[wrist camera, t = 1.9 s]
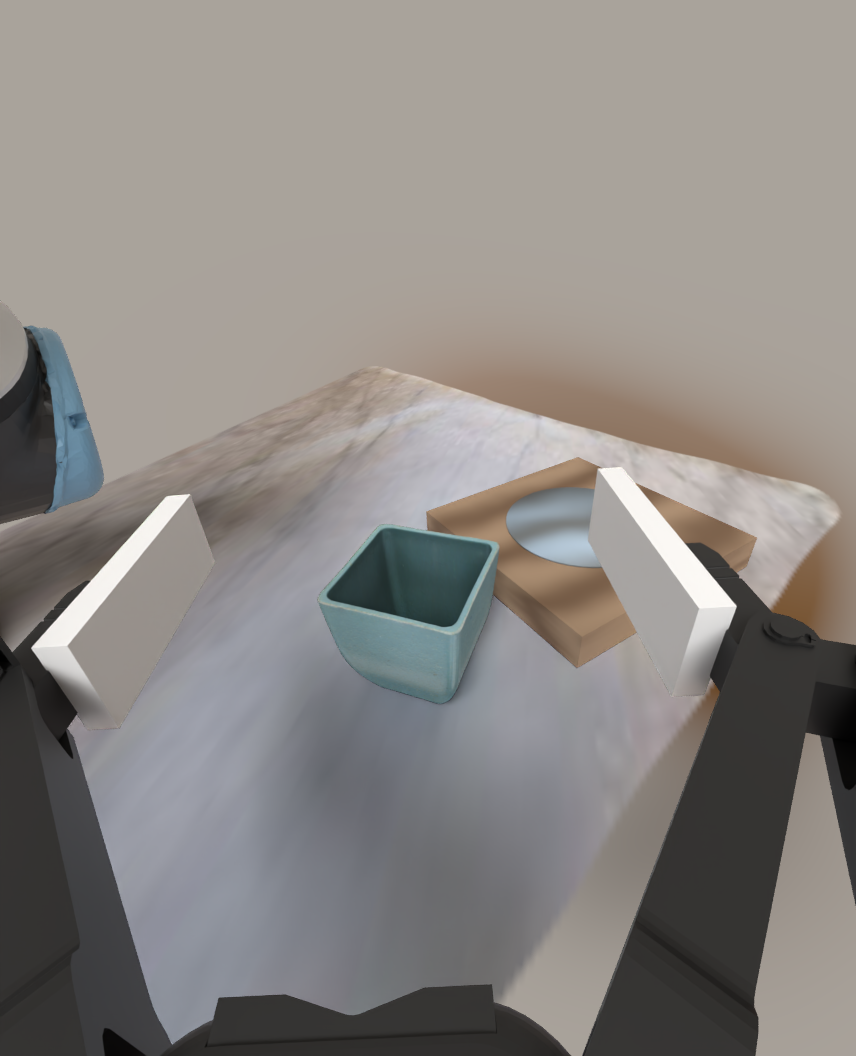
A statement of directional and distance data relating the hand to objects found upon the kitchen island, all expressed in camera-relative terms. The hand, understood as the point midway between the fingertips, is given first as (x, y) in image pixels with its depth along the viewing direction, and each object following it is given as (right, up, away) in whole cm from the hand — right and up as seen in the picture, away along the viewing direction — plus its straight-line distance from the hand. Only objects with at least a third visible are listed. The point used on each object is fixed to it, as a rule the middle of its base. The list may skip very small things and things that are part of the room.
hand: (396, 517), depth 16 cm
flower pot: (+1, -11, +19) cm, 21 cm away
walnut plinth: (+15, -2, +29) cm, 33 cm away
